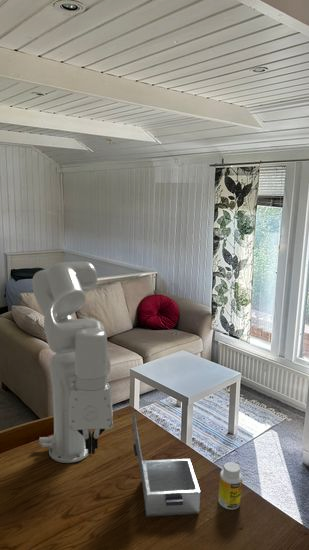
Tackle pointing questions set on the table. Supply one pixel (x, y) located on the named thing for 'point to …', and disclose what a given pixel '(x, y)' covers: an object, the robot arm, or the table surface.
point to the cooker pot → (170, 487)
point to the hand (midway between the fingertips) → (91, 450)
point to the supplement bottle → (230, 486)
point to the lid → (138, 452)
